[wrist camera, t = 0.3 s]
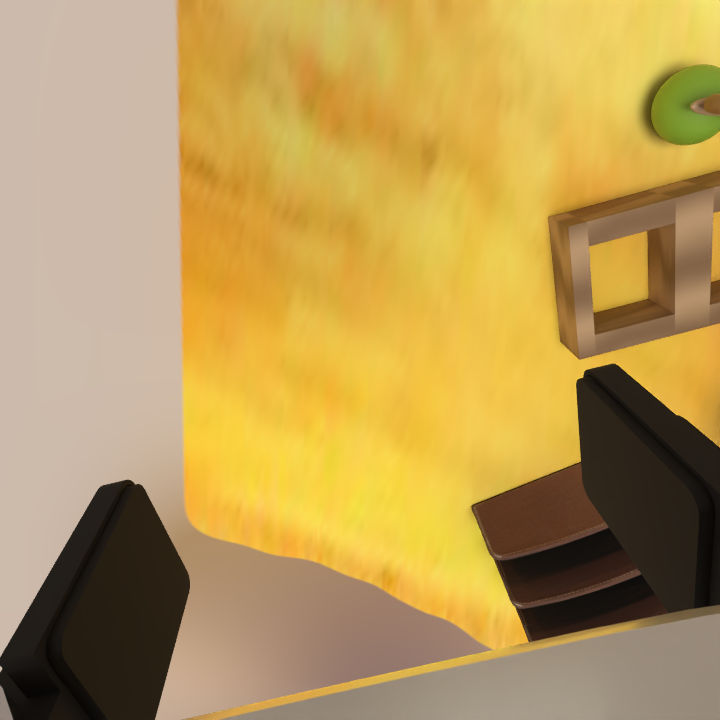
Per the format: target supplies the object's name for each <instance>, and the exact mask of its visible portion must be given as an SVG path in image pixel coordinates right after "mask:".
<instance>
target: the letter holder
mask: <svg viewBox="0 0 720 720" xmlns="http://www.w3.org/2000/svg"><path fill="white" fill-rule="evenodd" d="M472 511H473V513H474V515H475V518H476V520H477V523H478V525H479V528H480V530H481V533H482V535H483V538H484V541H485V543H486V546H487V548H488V551H489V553H490V555H491V556H492V557H493V558H494V561H495V563H496V565H497V568H498V571H499V573H500V575H501V578H502V580H503V583H504V585H505V588H506V590H507V593H508V596H509V598H510V600H511V602H512V604H513V605H514V606H515V608H516V610H517V613H518V615H519V617H520V620H521V622H522V625H523V628H524V630H525V633H526V636H527V638H528V641H529V642H533V641H538V640H542V639H547V638H551V637H556V636H561V635H565V634H570V633H575V632H579V631H584V630H588V629H593V628H598V627H603V626H608V625H613V624H618V623H623V622H628V621H633V620H638V619H643V618H648V617H653V616H658V615H664V614H669V613H668V611H667V610H666V609H665V607H664V606H663V604H662V603H661V601H660V600H659V598H658V597H657V596H656V594H655V593H654V591H653V590H652V588H651V587H650V586H649V584H648V583H647V581H646V580H645V578H644V577H643V576H642V574H641V573H640V571H639V570H638V568H637V567H636V566H635V564H634V563H633V561H632V560H631V558H630V557H629V556H628V554H627V553H626V551H625V550H624V548H623V547H622V546H621V544H620V543H619V541H618V540H617V538H616V537H615V535H614V534H613V533H612V531H611V530H610V528H609V527H608V525H607V524H606V523H605V521H604V520H603V518H602V517H601V515H600V514H599V513H598V511H597V510H596V508H595V507H594V505H593V504H592V503H591V501H590V500H589V498H588V496H587V494H586V492H585V489H584V486H583V481H582V468H581V463H579V464H576V465H573V466H571V467H569V468H566V469H563V470H561V471H558V472H556V473H553V474H551V475H548V476H546V477H543V478H541V479H538V480H536V481H533V482H531V483H528V484H526V485H523V486H520V487H518V488H516V489H513V490H511V491H508V492H506V493H503V494H501V495H498V496H496V497H494V498H491V499H488V500H486V501H483V502H481V503H479V504H476V505H473V506H472Z"/></svg>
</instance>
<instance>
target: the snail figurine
mask: <svg viewBox="0 0 720 720" xmlns="http://www.w3.org/2000/svg"><path fill="white" fill-rule="evenodd" d="M651 119H652V124H653V126H654V129H655V130H656V132H657V133H658V135H659V136H660V137H662V138H663V139H664V140H666V141H668V142H670V143H673V144H677V145H692V144H697V143H700V142H703V141H705V140H707V139H709V138H711V137H712V136H714V135H715V134H717V133H718V132H719V131H720V68H718V67H716V66H712V65H695V66H691V67H688V68H685V69H683V70H681V71H679V72H677V73H676V74H674V75H673V76H671V77H670V78H669V79H668V80H667V81H666V82H665V83H664V84H663V85H662V86H661V88H660V89H659V91H658V92H657V94H656V96H655V98H654V101H653V104H652V109H651Z"/></svg>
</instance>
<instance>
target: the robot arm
mask: <svg viewBox="0 0 720 720" xmlns="http://www.w3.org/2000/svg"><path fill="white" fill-rule="evenodd" d="M576 389H577V405H578V420H579V436H580V452H581V468H582V481H583V486H584V489H585V492H586V494H587V496H588V498H589V500H590V501H591V503H592V504H593V505H594V507H595V508H596V510H597V511H598V513H599V514H600V515H601V517H602V518H603V520H604V521H605V523H606V524H607V525H608V527H609V528H610V530H611V531H612V533H613V534H614V535H615V537H616V538H617V540H618V541H619V543H620V544H621V546H622V547H623V548H624V550H625V551H626V553H627V554H628V556H629V557H630V558H631V560H632V561H633V563H634V564H635V566H636V567H637V568H638V570H639V571H640V573H641V574H642V576H643V577H644V578H645V580H646V581H647V583H648V584H649V586H650V587H651V588H652V590H653V591H654V593H655V594H656V596H657V597H658V598H659V600H660V601H661V603H662V604H663V606H664V607H665V609H666V610H667V611H668V613H669V614H664V615H658V616H653V617H648V618H643V619H638V620H633V621H628V622H623V623H618V624H613V625H608V626H603V627H598V628H593V629H588V630H584V631H579V632H575V633H570V634H565V635H561V636H556V637H551V638H547V639H542V640H538V641H533V642H528V643H524V644H519V645H514V646H510V647H505V648H501V649H496V650H491V651H487V652H482V653H478V654H473V655H468V656H464V657H459V658H454V659H450V660H446V661H441V662H436V663H432V664H428V665H423V666H419V667H414V668H409V669H405V670H400V671H396V672H391V673H387V674H382V675H378V676H374V677H369V678H364V679H360V680H355V681H351V682H346V683H342V684H337V685H333V686H329V687H324V688H319V689H315V690H310V691H306V692H301V693H297V694H292V695H288V696H284V697H279V698H275V699H270V700H266V701H262V702H257V703H253V704H249V705H244V706H240V707H235V708H232V709H227V710H223V711H218V712H214V713H209V714H205V715H200V716H196V717H192V718H187V719H183V720H720V448H719V447H718V446H717V445H716V444H715V443H713V442H712V441H711V440H710V439H709V438H707V437H706V436H705V435H704V434H703V433H702V432H700V431H699V430H698V429H697V428H696V427H694V426H693V425H692V424H691V423H690V422H688V421H687V420H686V419H684V418H683V417H681V416H678V415H676V414H674V413H673V412H672V411H671V410H670V409H668V408H667V407H666V406H665V405H664V404H663V403H661V402H660V401H659V400H658V399H657V398H655V397H654V396H653V395H652V394H651V393H650V392H648V391H647V390H646V389H645V388H644V387H643V386H641V385H640V384H639V383H638V382H637V381H635V380H634V379H633V378H632V377H631V376H630V375H628V374H627V373H626V372H625V371H624V370H623V369H621V368H620V367H619V366H618V365H616V364H609V365H605V366H601V367H597V368H593V369H588V370H586V371H585V372H584V378H581V379H578V380H577V383H576ZM189 589H190V580H189V575H188V572H187V570H186V568H185V566H184V564H183V562H182V560H181V558H180V557H179V555H178V553H177V551H176V549H175V547H174V545H173V543H172V541H171V539H170V537H169V535H168V534H167V531H166V530H165V528H164V526H163V524H162V522H161V520H160V518H159V516H158V514H157V513H156V510H155V508H154V507H153V505H152V503H151V501H150V499H149V497H148V495H147V493H146V491H145V489H144V488H143V486H142V485H140V484H137V485H135V484H134V482H132V481H131V480H124V481H120V482H116V483H111V484H107V485H103V486H101V487H100V488H99V489H98V490H97V492H96V494H95V496H94V497H93V499H92V501H91V502H90V504H89V506H88V507H87V509H86V511H85V513H84V514H83V516H82V518H81V519H80V521H79V523H78V525H77V527H76V528H75V530H74V531H73V533H72V535H71V537H70V538H69V540H68V542H67V544H66V545H65V547H64V549H63V550H62V552H61V554H60V556H59V557H58V559H57V561H56V562H55V564H54V566H53V568H52V569H51V571H50V573H49V575H48V576H47V578H46V580H45V581H44V583H43V585H42V587H41V588H40V590H39V592H38V593H37V595H36V597H35V599H34V600H33V602H32V604H31V606H30V607H29V609H28V611H27V612H26V614H25V616H24V618H23V619H22V621H21V623H20V624H19V626H18V628H17V630H16V631H15V633H14V635H13V636H12V638H11V640H10V642H9V643H8V645H7V647H6V648H5V650H4V652H3V654H2V656H1V657H0V666H1V667H2V668H3V669H2V671H1V672H0V720H155V717H156V713H157V710H158V706H159V702H160V699H161V695H162V691H163V687H164V683H165V680H166V676H167V672H168V669H169V665H170V661H171V658H172V654H173V650H174V646H175V643H176V639H177V635H178V631H179V627H180V624H181V620H182V616H183V613H184V609H185V605H186V601H187V598H188V594H189Z"/></svg>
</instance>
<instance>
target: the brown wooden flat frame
mask: <svg viewBox="0 0 720 720" xmlns="http://www.w3.org/2000/svg"><path fill="white" fill-rule="evenodd" d="M718 211H720V171H717V172H713V173H709V174H706V175H702V176H698V177H695V178H691V179H687V180H684V181H680V182H676V183H673V184H669V185H665V186H662V187H658V188H654V189H651V190H647V191H643V192H640V193H636V194H632V195H629V196H625V197H621V198H618V199H614V200H610V201H607V202H603V203H599V204H596V205H592V206H588V207H585V208H581V209H577V210H574V211H570V212H566V213H563V214H559V215H555V216H552V217H548V219H549V229H550V239H551V249H552V259H553V270H554V280H555V290H556V300H557V310H558V320H559V331H560V341H561V343H562V344H564V345H565V346H566V347H567V348H568V349H569V350H570V351H571V352H572V353H573V354H574V355H575V356H576V357H577V358H578V359H579V360H580V359H584V358H588V357H592V356H595V355H599V354H603V353H607V352H611V351H615V350H618V349H622V348H626V347H630V346H634V345H638V344H642V343H645V342H649V341H653V340H657V339H661V338H665V337H668V336H672V335H676V334H680V333H684V332H688V331H691V330H695V329H699V328H703V327H707V326H711V325H714V324H718V323H720V280H719V281H715V282H711V259H712V233H713V213H714V212H718ZM644 231H648V276H649V299H647V300H643V301H639V302H636V303H632V304H628V305H624V306H620V307H617V308H613V309H609V310H605V311H602V312H598V313H594V314H593V302H592V287H591V272H590V257H589V246H592V245H596V244H599V243H603V242H607V241H610V240H614V239H618V238H622V237H625V236H629V235H633V234H636V233H640V232H644Z"/></svg>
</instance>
